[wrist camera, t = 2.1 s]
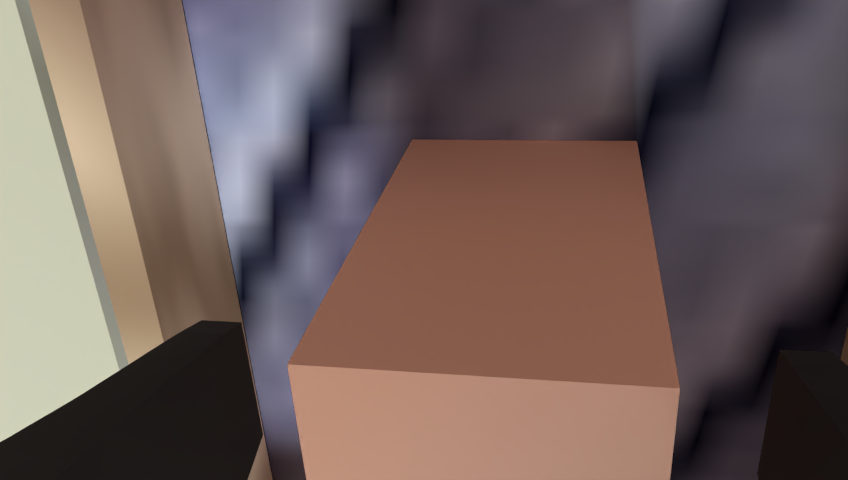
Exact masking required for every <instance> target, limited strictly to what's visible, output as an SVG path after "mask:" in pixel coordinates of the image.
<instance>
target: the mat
mask: <svg viewBox="0 0 848 480" xmlns="http://www.w3.org/2000/svg"><path fill="white" fill-rule="evenodd" d="M127 365H129V364H128V360H127V357H126V353H125V349H124V346H123V342H122V338H121V335H120V331H119V327H118V324H117V320H116V317H115V313H114V309H113V306H112V302H111V298H110V295H109V291H108V287H107V284H106V280H105V277H104V273H103V269H102V266H101V262H100V258H99V255H98V251H97V247H96V244H95V240H94V237H93V233H92V229H91V226H90V222H89V218H88V215H87V211H86V207H85V204H84V200H83V197H82V193H81V189H80V186H79V182H78V178H77V175H76V171H75V167H74V164H73V160H72V157H71V153H70V149H69V146H68V142H67V138H66V135H65V131H64V127H63V124H62V120H61V117H60V113H59V109H58V106H57V102H56V98H55V95H54V91H53V87H52V84H51V80H50V77H49V73H48V69H47V66H46V62H45V58H44V55H43V51H42V47H41V44H40V40H39V37H38V33H37V29H36V26H35V22H34V18H33V15H32V11H31V7H30V4H29V0H0V442H1V441H3V440H5V439H7V438H8V437H10V436H12V435H13V434H15V433H17V432H19V431H20V430H22V429H24V428H25V427H27V426H29V425H30V424H32V423H34V422H36V421H37V420H39V419H41V418H42V417H44V416H46V415H48V414H49V413H51V412H53V411H54V410H56V409H58V408H60V407H61V406H63V405H65V404H66V403H68V402H70V401H71V400H73V399H75V398H76V397H78V396H80V395H81V394H83V393H85V392H86V391H88V390H89V389H91V388H92V387H94V386H96V385H97V384H99V383H100V382H102V381H103V380H105V379H107V378H108V377H110V376H111V375H113V374H115V373H116V372H118V371H119V370H121V369H122V368H124V367H126V366H127Z"/></svg>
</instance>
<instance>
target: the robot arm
mask: <svg viewBox="0 0 848 480" xmlns="http://www.w3.org/2000/svg"><path fill="white" fill-rule="evenodd" d="M262 436H263V431H262V426H261V421H260V416H259V411H258V405H257V400H256V395H255V390H254V385H253V380H252V374H251V369H250V364H249V359H248V354H247V349H246V344H245V338H244V333H243V328H242V323H241V322H227V321H207V320H201V321H199V322H197V323H196V324H194V325H192V326H190V327H188V328H186V329H185V330H183V331H181V332H180V333H178V334H176V335H175V336H173V337H171V338H170V339H168V340H166V341H165V342H163V343H162V344H160V345H158V346H157V347H155V348H154V349H152V350H151V351H149V352H147V353H146V354H144V355H143V356H141V357H140V358H138V359H137V360H135V361H133V362H132V363H130V364H129V365H127V366H126V367H124V368H122V369H121V370H119V371H118V372H116V373H115V374H113V375H111V376H110V377H108V378H107V379H105V380H103V381H102V382H100V383H99V384H97V385H96V386H94V387H92V388H91V389H89V390H88V391H86V392H85V393H83V394H81V395H80V396H78V397H76V398H75V399H73V400H71V401H70V402H68V403H66V404H65V405H63V406H61V407H60V408H58V409H56V410H54V411H53V412H51V413H49V414H48V415H46V416H44V417H42V418H41V419H39V420H37V421H36V422H34V423H32V424H30V425H29V426H27V427H25V428H24V429H22V430H20V431H19V432H17V433H15V434H13V435H12V436H10V437H8V438H7V439H5V440H3V441H1V442H0V480H248V477H249V474H250V472H251V469H252V466H253V463H254V460H255V457H256V454H257V451H258V448H259V445H260V442H261V439H262ZM758 478H759V480H848V366H847V365H846V364H845V363H844V362H843V361H842V360H841V359H839V358H838V357H837V356H836V355H835V354H834V353H832V352H820V351H800V350H779V356H778V361H777V367H776V373H775V378H774V384H773V389H772V395H771V401H770V406H769V412H768V417H767V423H766V429H765V434H764V440H763V445H762V451H761V457H760V462H759V468H758Z"/></svg>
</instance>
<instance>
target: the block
mask: <svg viewBox="0 0 848 480" xmlns="http://www.w3.org/2000/svg"><path fill="white" fill-rule="evenodd" d="M287 366H288V372H289V378H290V384H291V390H292V396H293V402H294V408H295V414H296V420H297V426H298V432H299V438H300V445H301V451H302V457H303V463H304V469H305V475H306V480H670V476H671V467H672V458H673V449H674V439H675V430H676V421H677V412H678V403H679V394H680V385H679V379H678V373H677V368H676V362H675V356H674V350H673V345H672V339H671V333H670V328H669V322H668V316H667V310H666V305H665V299H664V293H663V288H662V282H661V276H660V270H659V265H658V259H657V253H656V247H655V242H654V236H653V230H652V225H651V219H650V213H649V207H648V202H647V196H646V190H645V185H644V179H643V173H642V167H641V162H640V156H639V150H638V145H637V141H575V140H419V139H412V141H411V142H410V144H409V146H408V148H407V150H406V151H405V153H404V155H403V157H402V159H401V160H400V162H399V164H398V166H397V168H396V169H395V171H394V173H393V175H392V177H391V178H390V180H389V182H388V184H387V186H386V187H385V189H384V191H383V193H382V195H381V196H380V198H379V200H378V202H377V204H376V205H375V207H374V209H373V211H372V213H371V214H370V216H369V218H368V220H367V222H366V223H365V225H364V227H363V229H362V231H361V232H360V234H359V236H358V238H357V240H356V241H355V243H354V245H353V247H352V249H351V250H350V252H349V254H348V256H347V258H346V260H345V261H344V263H343V265H342V267H341V269H340V270H339V272H338V274H337V276H336V278H335V279H334V281H333V283H332V285H331V287H330V288H329V290H328V292H327V294H326V296H325V297H324V299H323V301H322V303H321V305H320V306H319V308H318V310H317V312H316V314H315V315H314V317H313V319H312V321H311V323H310V324H309V326H308V328H307V330H306V332H305V333H304V335H303V337H302V339H301V341H300V342H299V344H298V346H297V348H296V350H295V351H294V353H293V355H292V357H291V359H290V360H289V362H288V364H287Z"/></svg>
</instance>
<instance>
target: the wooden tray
mask: <svg viewBox="0 0 848 480" xmlns="http://www.w3.org/2000/svg"><path fill="white" fill-rule="evenodd" d="M29 4H30V7H31V11H32V15H33V18H34V22H35V26H36V29H37V33H38V37H39V40H40V44H41V47H42V51H43V55H44V58H45V62H46V66H47V69H48V73H49V77H50V80H51V84H52V87H53V91H54V95H55V98H56V102H57V106H58V109H59V113H60V117H61V120H62V124H63V127H64V131H65V135H66V138H67V142H68V146H69V149H70V153H71V157H72V160H73V164H74V167H75V171H76V175H77V178H78V182H79V186H80V189H81V193H82V197H83V200H84V204H85V207H86V211H87V215H88V218H89V222H90V226H91V229H92V233H93V237H94V240H95V244H96V247H97V251H98V255H99V258H100V262H101V266H102V269H103V273H104V277H105V280H106V284H107V287H108V291H109V295H110V298H111V302H112V306H113V309H114V313H115V317H116V320H117V324H118V327H119V331H120V335H121V338H122V342H123V346H124V349H125V353H126V357H127V360H128V364H130V363H132V362H133V361H135V360H137V359H138V358H140V357H141V356H143V355H144V354H146V353H147V352H149V351H151V350H152V349H154V348H155V347H157V346H158V345H160V344H162V343H163V342H165V341H166V340H168V339H170V338H171V337H173V336H175V335H176V334H178V333H180V332H181V331H183V330H185V329H186V328H188V327H190V326H192V325H194V324H196V323H197V322H199V321H201V320H207V321H227V322H241V323H242V328H243V333H244V338H245V344H246V349H247V354H248V359H249V364H250V369H251V363H250V358H249V353H248V347H247V342H246V337H245V332H244V326H243V321H242V316H241V311H240V305H239V300H238V295H237V290H236V284H235V279H234V274H233V269H232V263H231V258H230V253H229V248H228V242H227V237H226V232H225V226H224V221H223V216H222V211H221V205H220V200H219V195H218V190H217V184H216V179H215V174H214V169H213V163H212V158H211V153H210V148H209V142H208V137H207V132H206V126H205V121H204V116H203V111H202V105H201V100H200V95H199V90H198V84H197V79H196V74H195V69H194V63H193V58H192V53H191V48H190V42H189V37H188V32H187V26H186V21H185V16H184V11H183V5H182V0H29ZM841 360H842V361H843V362H844V363H845V364H846V365H847V366H848V327H847V332H846V336H845V341H844V346H843V350H842V355H841ZM251 374H252V369H251ZM252 380H253V385H254V390H255V384H254V379H253V374H252ZM255 395H256V390H255ZM256 400H257V395H256ZM257 405H258V400H257ZM258 411H259V405H258ZM259 416H260V411H259ZM260 421H261V416H260ZM261 426H262V421H261ZM262 431H263V426H262ZM248 480H273V479H272V474H271V469H270V463H269V458H268V453H267V447H266V442H265V437H264V432H263V436H262V439H261V442H260V445H259V448H258V451H257V454H256V457H255V460H254V463H253V466H252V469H251V472H250V474H249V477H248Z"/></svg>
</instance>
